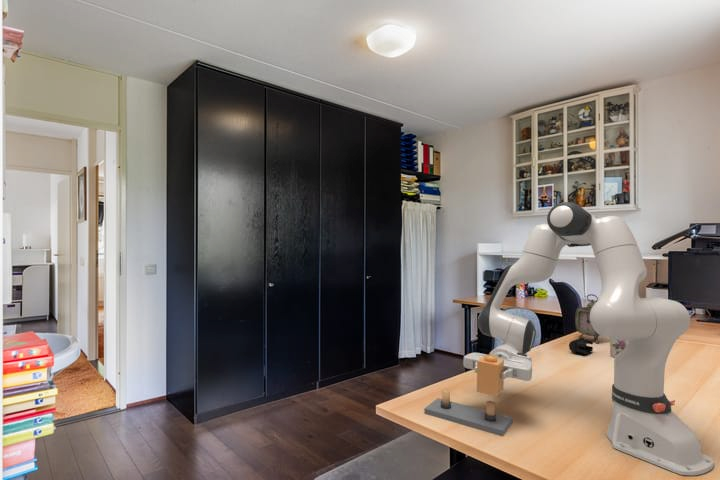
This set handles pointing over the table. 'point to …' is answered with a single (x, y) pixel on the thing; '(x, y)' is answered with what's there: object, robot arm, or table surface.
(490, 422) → the mounting plate
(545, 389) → the table surface
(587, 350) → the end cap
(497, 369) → the orange toy brick
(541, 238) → the robot arm
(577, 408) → the table surface
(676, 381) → the table surface
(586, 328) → the tabletop clock
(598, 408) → the table surface
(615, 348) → the decorative jar
